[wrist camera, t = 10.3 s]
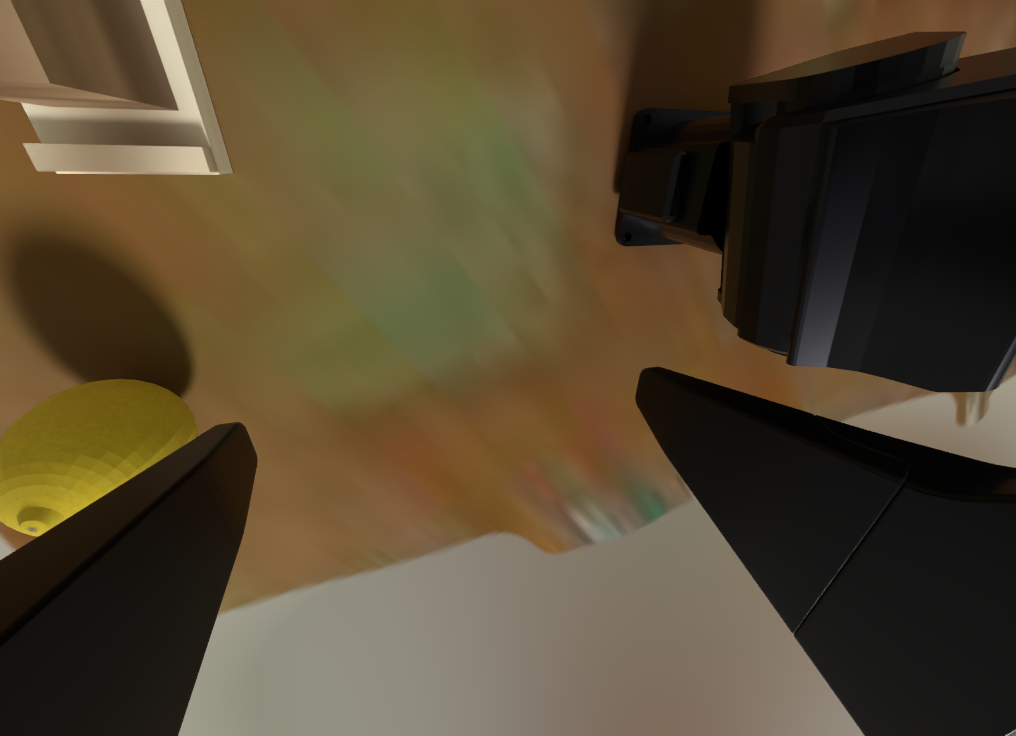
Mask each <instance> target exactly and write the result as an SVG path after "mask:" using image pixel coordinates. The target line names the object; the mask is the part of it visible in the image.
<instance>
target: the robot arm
mask: <svg viewBox="0 0 1016 736" xmlns="http://www.w3.org/2000/svg"><path fill="white" fill-rule="evenodd" d="M966 33H967V32H914V33H909V34H905V35H901V36H897V37H893V38H889V39H885V40H881V41H877V42H873V43H869V44H865V45H862V46H858V47H854V48H850V49H846V50H842V51H838V52H835V53H831V54H828V55H825V56H822V57H819V58H816V59H812V60H809V61H806V62H803V63H800V64H797V65H794V66H790V67H787V68H784V69H781V70H778V71H775V72H772V73H768V74H765V75H762V76H759V77H756V78H753V79H750V80H747V81H743V82H740V83H737V84H734V85H731V86H729V96H728V103H731V112H713V111H695V110H677V109H659V108H646V109H641V110H639V111H638V112H637V113H636V115H635V117H634V120H633V126H632V133H631V139H630V146H629V153H628V155H627V156H626V159H625V166H624V173H623V180H622V186H621V193H620V200H619V209H620V213H619V220H618V226H617V233H616V241H617V243H619V244H620V245H622V246H646V245H670V244H687V245H691V246H694V247H697V248H701V249H704V250H707V251H711V252H714V253H718V254H721V255H722V270H721V288H719V289H718V301H719V302H720V303H721V306H722V311H723V316H724V317H725V318H726V319H727V320H728V321H729V322H730V323H731V324H732V325H733V326H734V327H736V328H738V332H737V335H738V336H739V337H740V338H741V339H743V340H745V341H747V342H749V343H751V344H754V345H756V346H758V347H761V348H764V349H767V350H769V351H771V352H774V353H777V354H780V355H783V356H787V359H786V363H787V364H789V365H792V366H813V367H830V368H837V369H844V370H851V371H858V372H862V373H867V374H871V375H875V376H879V377H883V378H887V379H890V380H894V381H897V382H901V383H904V384H908V385H912V386H915V387H919V388H922V389H926V390H929V391H934V392H985V391H990V390H994V389H996V388H998V387H999V386H1000V384H1001V382H1002V380H1003V379H1004V377H1005V375H1006V374H1007V372H1008V370H1009V368H1010V367H1011V365H1012V363H1013V361H1014V360H1015V358H1016V47H1015V48H1010V49H1005V50H1000V51H995V52H990V53H985V54H980V55H975V56H970V57H965V58H960V59H959V55H960V52H961V49H962V46H963V43H964V40H965V36H966ZM644 116H646V118H647V122H646V124H645V125H643V124H642V119H643V117H644ZM626 233H628V237H627V239H626V240H624V238H623V237H624V235H625V234H626ZM635 399H636V404H637V406H638V408H639V410H640V411H641V413H642V415H643V417H644V418H645V420H646V422H647V424H648V425H649V427H650V429H651V431H652V432H653V434H654V436H655V438H656V440H657V441H658V443H659V445H660V446H661V448H662V450H663V451H664V453H665V454H666V456H667V457H668V459H669V460H670V462H671V463H672V465H673V466H674V467H675V469H676V470H677V472H678V473H679V474H680V476H681V477H682V479H683V480H684V482H685V483H686V484H687V486H688V487H689V489H690V490H691V491H692V493H693V494H694V496H695V497H696V498H697V500H698V501H699V503H700V504H701V505H702V507H703V508H704V510H705V511H706V512H707V514H708V515H709V517H710V518H711V520H712V521H713V522H714V524H715V525H716V527H717V528H718V529H719V531H720V532H721V534H722V535H723V536H724V538H725V539H726V541H727V542H728V543H729V545H730V546H731V548H732V549H733V550H734V552H735V553H736V555H737V556H738V558H739V559H740V560H741V562H742V563H743V565H744V566H745V567H746V569H747V570H748V572H749V573H750V574H751V576H752V577H753V579H754V580H755V581H756V583H757V584H758V586H759V587H760V588H761V590H762V591H763V593H764V594H765V596H766V597H767V598H768V600H769V601H770V603H771V604H772V605H773V606H774V608H775V610H776V611H777V612H778V613H779V615H780V616H781V618H782V619H783V621H784V622H785V624H786V625H787V626H788V628H789V629H790V631H791V632H792V633H794V637H795V638H796V639H797V641H798V642H799V644H800V645H801V647H802V648H803V649H804V651H805V652H806V654H807V655H808V656H809V658H810V659H811V661H812V662H813V664H814V665H815V666H816V668H817V669H818V671H819V672H820V673H821V675H822V676H823V678H824V679H825V680H826V682H827V683H828V684H829V686H830V688H831V689H832V690H833V692H834V693H835V695H836V696H837V697H838V699H839V700H840V702H841V703H842V704H843V706H844V707H845V709H846V710H847V711H848V713H849V714H850V716H851V717H852V718H853V720H854V721H855V723H856V724H857V726H858V727H859V728H860V730H861V731H862V733H863V734H864V735H865V736H1016V468H1013V467H1007V466H1001V465H996V464H991V463H987V462H982V461H979V460H975V459H971V458H968V457H964V456H960V455H957V454H953V453H949V452H945V451H941V450H938V449H934V448H930V447H926V446H923V445H919V444H915V443H912V442H908V441H904V440H901V439H897V438H893V437H890V436H886V435H883V434H879V433H876V432H872V431H868V430H864V429H861V428H858V427H854V426H851V425H848V424H845V423H841V422H838V421H834V420H831V419H828V418H825V417H821V416H818V415H815V416H814V415H813V414H811V413H808V412H805V411H802V410H798V409H795V408H792V407H789V406H785V405H782V404H779V403H776V402H772V401H769V400H766V399H763V398H759V397H756V396H753V395H750V394H746V393H743V392H740V391H736V390H733V389H730V388H727V387H723V386H720V385H717V384H714V383H710V382H707V381H704V380H701V379H697V378H694V377H691V376H688V375H684V374H681V373H678V372H675V371H671V370H668V369H665V368H661V367H651V368H645V369H643V370H642V371H641V373H640V377H639V381H638V386H637V391H636V396H635ZM256 468H257V455H256V452H255V449H254V447H253V444H252V442H251V439H250V437H249V434H248V432H247V430H246V428H245V426H244V425H243V424H242V423H240V422H234V423H227V424H219V425H216V426H214V427H213V428H211V429H209V430H208V431H206V432H205V433H203V434H201V435H200V436H198V437H197V438H195V439H193V440H192V441H190V442H189V443H187V444H185V445H184V446H182V447H181V448H179V449H177V450H176V451H174V452H173V453H171V454H169V455H168V456H166V457H165V458H163V459H161V460H160V461H158V462H157V463H155V464H153V465H152V466H150V467H149V468H147V469H145V470H144V471H142V472H141V473H139V474H137V475H136V476H134V477H133V478H131V479H129V480H128V481H126V482H125V483H123V484H121V485H120V486H118V487H117V488H115V489H114V490H112V491H110V492H109V493H107V494H106V495H104V496H102V497H101V498H99V499H98V500H96V501H94V502H93V503H91V504H90V505H88V506H86V507H85V508H83V509H82V510H80V511H78V512H77V513H75V514H74V515H72V516H70V517H69V518H67V519H66V520H64V521H62V522H61V523H59V524H58V525H56V526H54V527H53V528H51V529H50V530H48V531H46V532H45V533H43V534H42V535H40V536H38V537H37V538H35V539H34V540H32V541H30V542H29V543H27V544H26V545H24V546H22V547H21V548H19V549H18V550H16V551H14V552H13V553H11V554H10V555H8V556H6V557H5V558H3V559H2V560H0V736H178V734H179V731H180V728H181V725H182V722H183V719H184V715H185V713H186V709H187V706H188V703H189V700H190V697H191V694H192V691H193V688H194V685H195V682H196V679H197V676H198V672H199V670H200V667H201V664H202V660H203V657H204V654H205V651H206V648H207V645H208V642H209V639H210V636H211V633H212V630H213V627H214V624H215V621H216V618H217V615H218V611H219V608H220V605H221V602H222V599H223V596H224V593H225V590H226V587H227V584H228V581H229V578H230V575H231V572H232V569H233V565H234V562H235V559H236V556H237V553H238V550H239V547H240V544H241V540H242V537H243V534H244V529H245V525H246V520H247V515H248V510H249V504H250V499H251V494H252V489H253V484H254V479H255V473H256Z"/></svg>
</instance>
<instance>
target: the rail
mask: <svg viewBox="0 0 1016 736" xmlns="http://www.w3.org/2000/svg"><path fill="white" fill-rule="evenodd" d="M140 1H141V4H142V7H143V9H144V12H145V15H146V18H147V21H148V24H149V26H150V29H151V32H152V35H153V38H154V41H155V44H156V46H157V49H158V52H159V55H160V58H161V61H162V63H163V66H164V69H165V72H166V75H167V78H168V81H169V83H170V86H171V89H172V92H173V95H174V98H175V100H176V103H177V106H178V109H179V111H169V110H134V109H100V108H65V107H48V106H41V105H34V104H27V103H21V104H22V106H23V108H24V110H25V112H26V114H27V115H28V117H29V119H30V121H31V123H32V125H33V127H34V129H35V131H36V133H37V135H38V137H39V139H40V141H41V143H42V144H35V143H23V145H24V147H25V149H26V151H27V153H28V154H29V156H30V158H31V160H32V162H33V164H34V166H35V168H36V170H37V171H56V173H57V174H209V175H220V174H229V173H233V171H232V167H231V164H230V161H229V158H228V154H227V151H226V148H225V144H224V141H223V138H222V134H221V131H220V128H219V125H218V121H217V118H216V115H215V111H214V108H213V105H212V101H211V98H210V95H209V92H208V88H207V85H206V82H205V78H204V75H203V72H202V68H201V65H200V62H199V59H198V55H197V52H196V49H195V45H194V42H193V39H192V35H191V32H190V29H189V26H188V22H187V19H186V16H185V12H184V9H183V6H182V2H181V0H140Z"/></svg>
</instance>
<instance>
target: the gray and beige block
mask: <svg viewBox="0 0 1016 736" xmlns="http://www.w3.org/2000/svg"><path fill="white" fill-rule="evenodd" d="M0 100H7V101H14V102H20V103H27V104H34V105H41V106H48V107H65V108H100V109H134V110H169V111H179V109H178V106H177V103H176V100H175V98H174V95H173V92H172V89H171V86H170V83H169V81H168V78H167V75H166V72H165V69H164V66H163V63H162V61H161V58H160V55H159V52H158V49H157V46H156V44H155V41H154V38H153V35H152V32H151V29H150V26H149V24H148V21H147V18H146V15H145V12H144V9H143V7H142V4H141V1H140V0H0Z"/></svg>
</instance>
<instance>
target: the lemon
mask: <svg viewBox="0 0 1016 736" xmlns="http://www.w3.org/2000/svg"><path fill="white" fill-rule="evenodd" d="M195 438H197V427H196V422H195V418H194V416H193V414H192V412H191V410H190V409H189V407H188V406H187V405H186V403H185V402H183V401H182V400H181V399H180V398H179V397H178V396H177V395H176V394H174V393H172V392H171V391H169V390H168V389H166V388H163V387H161V386H158V385H156V384H153V383H149V382H144V381H140V380H132V379H109V380H100V381H94V382H89V383H86V384H83V385H80V386H76V387H73V388H70V389H67V390H64V391H62V392H60V393H57V394H55V395H54V396H52V397H50V398H48V399H47V400H45V401H43V402H42V403H40V404H39V405H37V406H36V407H34V408H33V409H31V410H30V411H28V412H27V413H25V414H24V415H23V416H22V417H20V418H19V419H18V420H17V421H16V422H15V423H14V424H13V425H12V426H11V427H10V428H9V429H8V430H7V432H6V433H5V434H4V435H3V437H2V438H1V439H0V521H1V522H3V523H4V524H5V525H7V526H8V527H11V528H13V529H15V530H17V531H19V532H22V533H25V534H29V535H32V536H40V535H42V534H43V533H45V532H46V531H48V530H50V529H51V528H53V527H54V526H56V525H58V524H59V523H61V522H62V521H64V520H66V519H67V518H69V517H70V516H72V515H74V514H75V513H77V512H78V511H80V510H82V509H83V508H85V507H86V506H88V505H90V504H91V503H93V502H94V501H96V500H98V499H99V498H101V497H102V496H104V495H106V494H107V493H109V492H110V491H112V490H114V489H115V488H117V487H118V486H120V485H121V484H123V483H125V482H126V481H128V480H129V479H131V478H133V477H134V476H136V475H137V474H139V473H141V472H142V471H144V470H145V469H147V468H149V467H150V466H152V465H153V464H155V463H157V462H158V461H160V460H161V459H163V458H165V457H166V456H168V455H169V454H171V453H173V452H174V451H176V450H177V449H179V448H181V447H182V446H184V445H185V444H187V443H189V442H190V441H192V440H193V439H195Z"/></svg>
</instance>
